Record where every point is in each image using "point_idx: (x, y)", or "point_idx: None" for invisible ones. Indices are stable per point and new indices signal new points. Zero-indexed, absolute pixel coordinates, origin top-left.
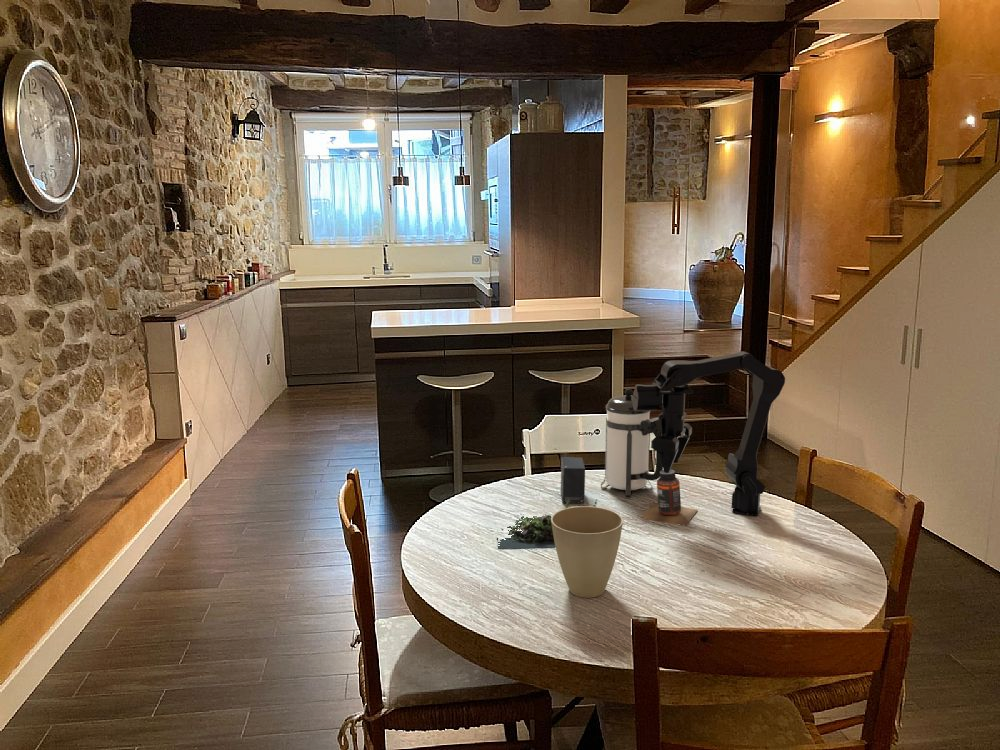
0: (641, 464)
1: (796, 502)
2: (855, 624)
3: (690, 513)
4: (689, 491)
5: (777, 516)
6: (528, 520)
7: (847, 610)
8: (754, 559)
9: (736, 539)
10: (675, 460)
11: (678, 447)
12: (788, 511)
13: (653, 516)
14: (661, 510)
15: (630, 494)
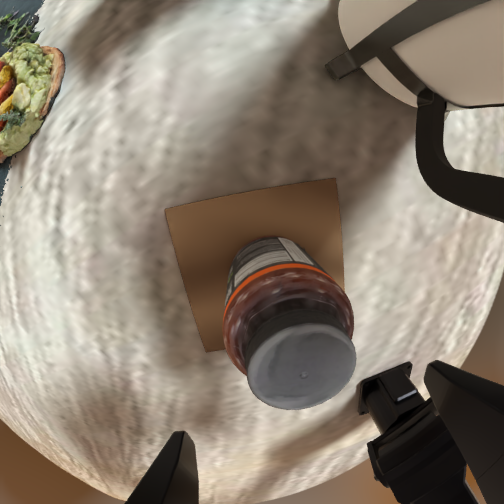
0: (460, 81)
1: None
2: (116, 497)
3: None
4: (460, 229)
5: (373, 423)
6: (6, 23)
7: None
8: None
9: (214, 435)
10: (433, 383)
11: (484, 449)
12: None
13: (199, 244)
14: (230, 267)
15: (336, 77)
